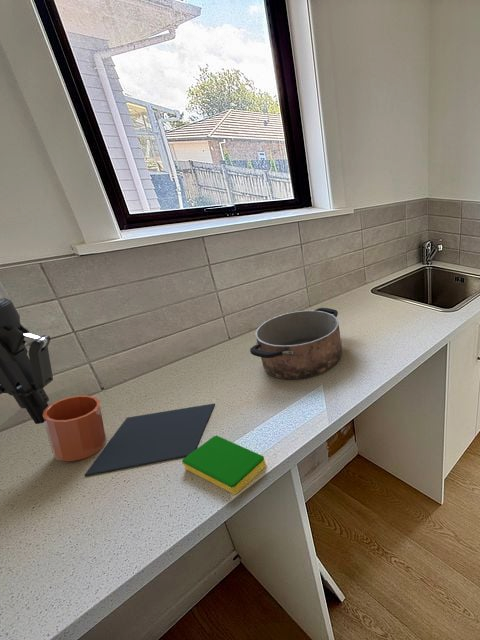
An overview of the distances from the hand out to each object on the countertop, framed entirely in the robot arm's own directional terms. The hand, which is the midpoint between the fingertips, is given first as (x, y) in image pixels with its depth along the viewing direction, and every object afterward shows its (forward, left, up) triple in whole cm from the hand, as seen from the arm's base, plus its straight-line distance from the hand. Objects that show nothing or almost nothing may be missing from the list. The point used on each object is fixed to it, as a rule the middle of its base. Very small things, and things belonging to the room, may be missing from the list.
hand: (44, 418), depth 64 cm
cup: (+2, 0, -8) cm, 9 cm away
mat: (+16, 0, -9) cm, 18 cm away
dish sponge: (+32, -13, -9) cm, 35 cm away
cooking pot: (+45, +24, -9) cm, 52 cm away
